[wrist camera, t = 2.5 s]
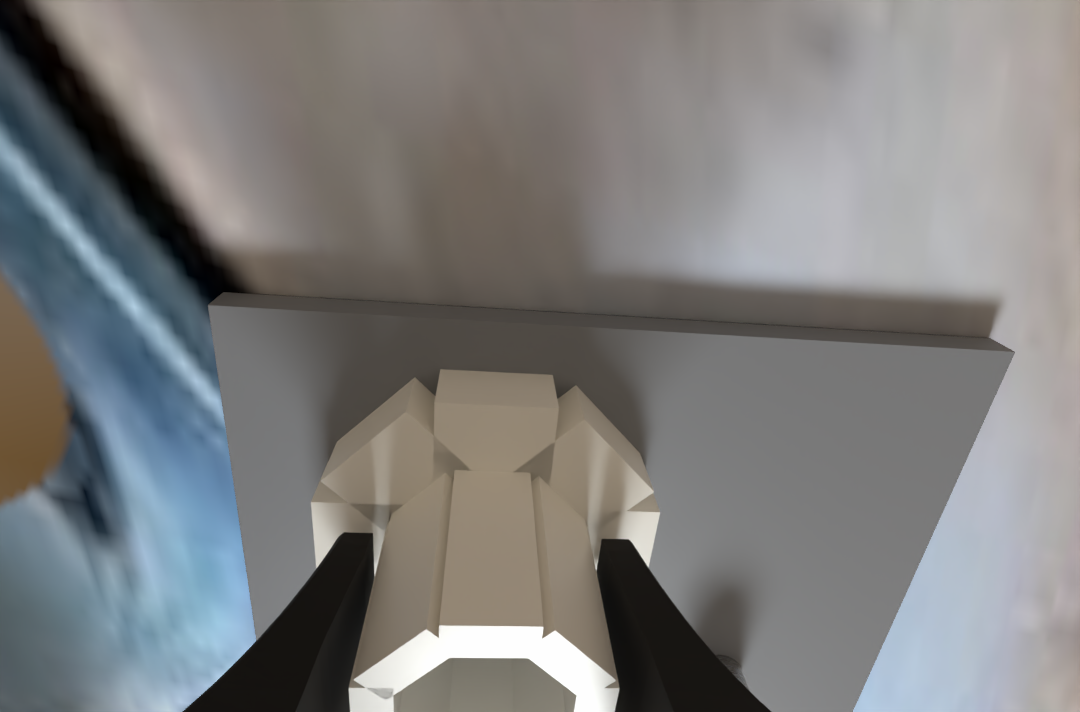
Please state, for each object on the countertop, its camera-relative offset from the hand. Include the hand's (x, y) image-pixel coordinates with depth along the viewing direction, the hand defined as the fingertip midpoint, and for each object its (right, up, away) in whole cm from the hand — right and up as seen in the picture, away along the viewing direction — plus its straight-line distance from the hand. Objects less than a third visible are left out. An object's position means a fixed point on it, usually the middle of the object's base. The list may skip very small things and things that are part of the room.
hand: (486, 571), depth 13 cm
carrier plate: (+2, -4, +5) cm, 7 cm away
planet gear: (0, +1, +2) cm, 2 cm away
